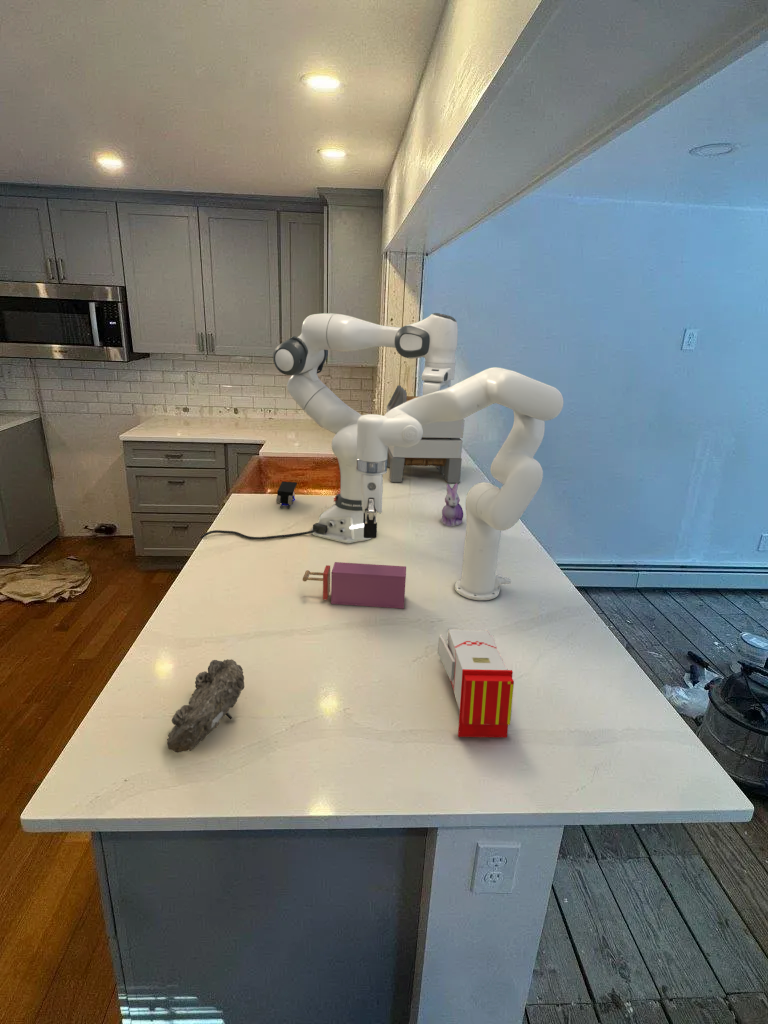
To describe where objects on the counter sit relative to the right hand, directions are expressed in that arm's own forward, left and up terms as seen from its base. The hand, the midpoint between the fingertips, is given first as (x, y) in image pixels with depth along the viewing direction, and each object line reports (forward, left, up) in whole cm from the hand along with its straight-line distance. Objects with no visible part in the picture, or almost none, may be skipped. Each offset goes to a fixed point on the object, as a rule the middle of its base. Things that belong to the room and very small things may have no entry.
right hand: (369, 530), depth 145 cm
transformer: (-55, -120, -21) cm, 134 cm away
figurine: (-46, -54, -21) cm, 74 cm away
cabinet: (-1, -1, -21) cm, 21 cm away
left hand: (-27, -29, +23) cm, 45 cm away
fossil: (+39, +38, -21) cm, 58 cm away
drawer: (+5, -3, -20) cm, 21 cm away
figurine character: (+13, -83, -21) cm, 87 cm away
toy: (-12, +41, -21) cm, 47 cm away
